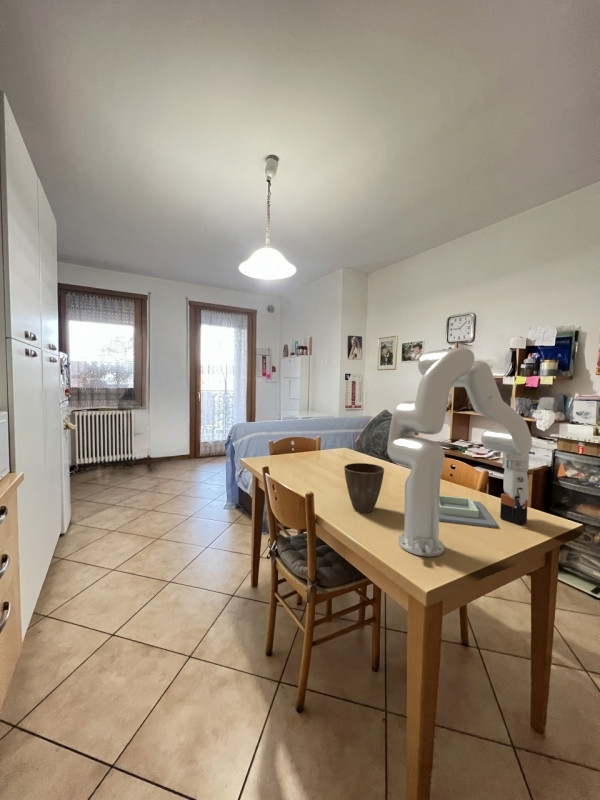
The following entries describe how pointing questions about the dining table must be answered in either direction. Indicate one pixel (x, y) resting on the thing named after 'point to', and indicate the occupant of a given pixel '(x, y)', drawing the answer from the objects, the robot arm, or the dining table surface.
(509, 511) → the battery
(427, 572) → the dining table surface
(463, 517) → the slot tray
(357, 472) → the plant pot
